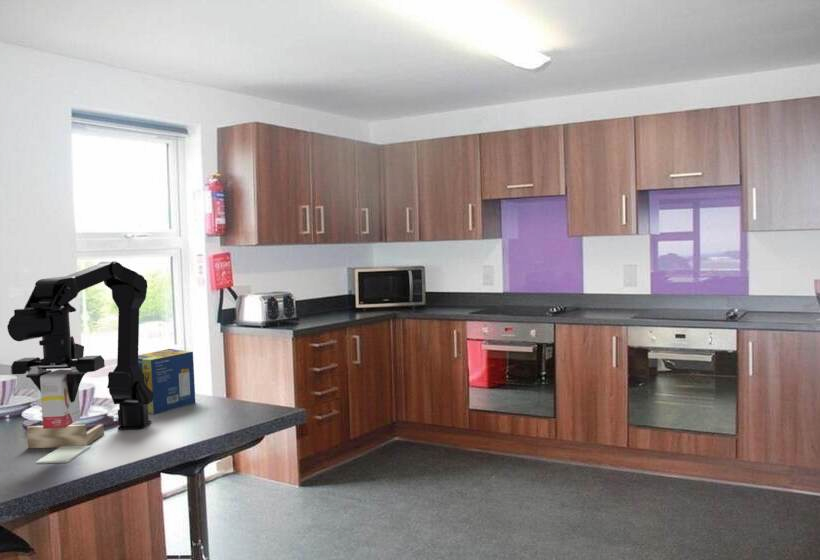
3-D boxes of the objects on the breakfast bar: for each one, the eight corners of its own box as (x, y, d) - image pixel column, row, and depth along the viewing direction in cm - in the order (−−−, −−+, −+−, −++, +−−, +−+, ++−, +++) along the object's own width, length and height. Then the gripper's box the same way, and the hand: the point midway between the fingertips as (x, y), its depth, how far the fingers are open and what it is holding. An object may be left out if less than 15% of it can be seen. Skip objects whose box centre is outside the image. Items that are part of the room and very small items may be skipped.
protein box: (129, 410, 201) (125, 357, 199) (172, 399, 214) (170, 348, 213) (153, 414, 195) (150, 359, 194) (196, 402, 208) (193, 350, 207)
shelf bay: (103, 434, 177) (102, 414, 177) (85, 446, 167) (83, 425, 166) (50, 435, 177) (48, 416, 177) (28, 448, 167) (26, 427, 167)
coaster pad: (90, 447, 166) (90, 445, 166) (67, 462, 155) (67, 460, 155) (61, 448, 166) (61, 446, 166) (36, 463, 155) (35, 461, 155)
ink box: (64, 428, 156) (60, 376, 155) (42, 429, 156) (38, 377, 155) (81, 418, 164) (78, 368, 164) (60, 419, 164) (57, 369, 164)
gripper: (112, 327, 167) (116, 392, 168) (34, 330, 167) (39, 395, 168) (91, 334, 155) (95, 404, 157) (7, 337, 156) (12, 407, 157)
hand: (61, 402), depth 160 cm, fingers closed on ink box, 5 cm apart
